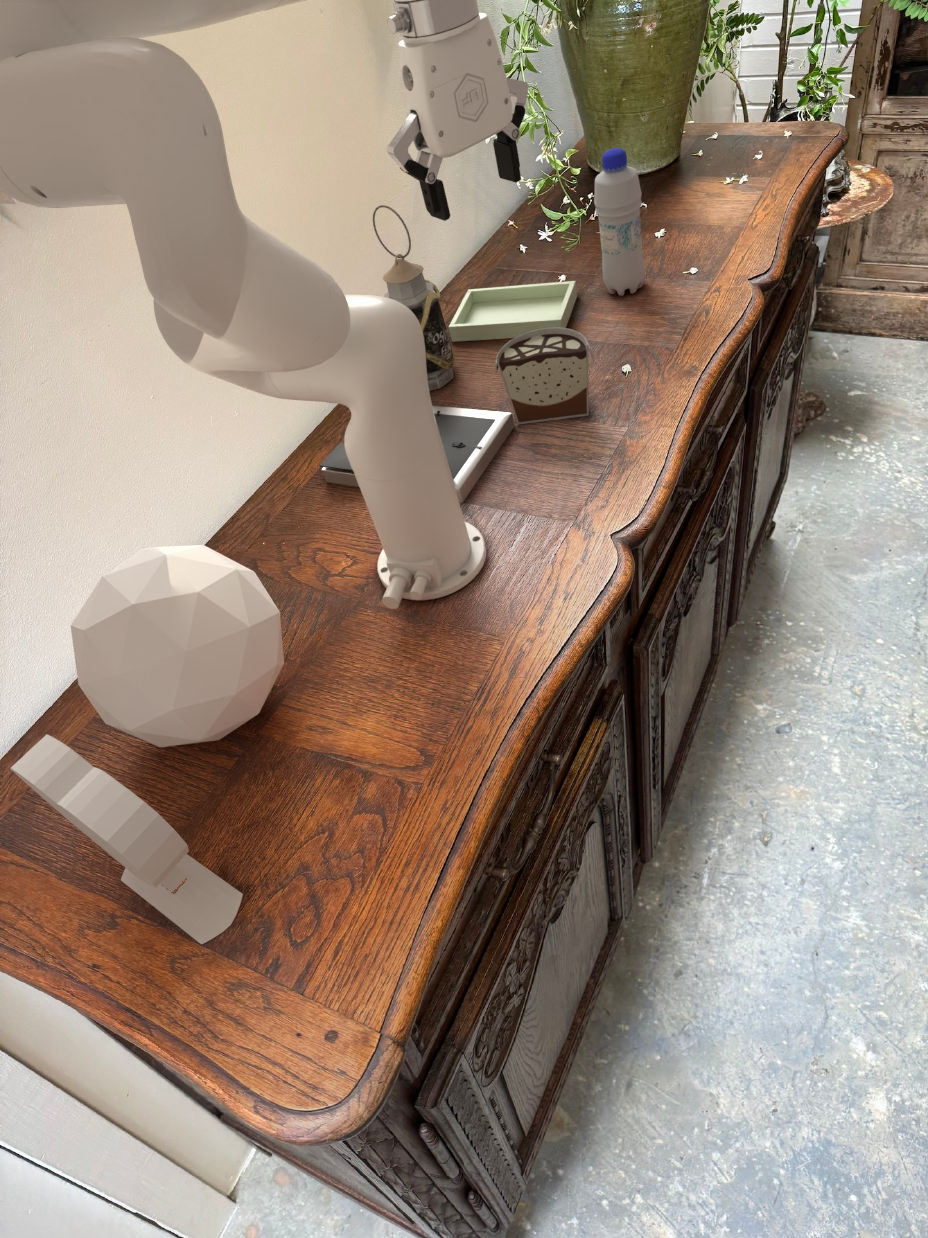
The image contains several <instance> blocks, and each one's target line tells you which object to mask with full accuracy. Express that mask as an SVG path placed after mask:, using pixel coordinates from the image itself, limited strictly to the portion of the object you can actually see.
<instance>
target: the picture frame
mask: <svg viewBox="0 0 928 1238" xmlns="http://www.w3.org/2000/svg"><path fill="white" fill-rule="evenodd" d="M432 407H433V411H434V415H435V419H436V423H437V426H438V430H439V434H440V437H441V440H442V443H443V447H444V451H445V454H446V458H447V461H448V465H449V468H450V472H451V475H452V479H453V482H454V486H455V489H456V493H457V496H458V500H459V503H462V504H463V503H464V501H466V499H467V497H468V495H470V493H471V492H472V490H473V488H474V487H475V485H476V484H477V483H478V481H479V480H480V478H481V477H482V475H483V474H484V472H485V471H486V469H487V468H488V466H489V465H490V464H491V462H492V460H493V459H494V458H495V456H496V455H497V453H498V451H499V450H500V449H501V447H502V446H503V444H504V443H505V441H506V440H507V438H508V437H509V436H510V434H511V433H512V431H513V430H514V429H515V426H516V425H515V420H514V416H513V415H514V414H513V413H512V412H506V411H496V410H494V411H493V410H483V409H474V408H473V409H472V408H463V407H462V408H461V407H454V406H453V407H450V406H440V405H432ZM319 467H320V468H321V470H320V471H321V473H322V475H323V478H324V480H325V482H326V483H329V484H335V485H336V484H337V485H343V486H349V487H356V488H360V487H359V485H358V482H357V479H356V477H355V474H354V472H353V470H352V468H351V465H350V462H349V460H348V457H347V454H346V450H345V445H344V442H339V443H338V444H337V445H336V446H335V447H334V449H332V450H331V452H330V453H329V454H328V455H327V456H326V457H325V458H324V459H323V460H322V462H321V463H320V464H319Z"/></svg>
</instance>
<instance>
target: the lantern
mask: <svg viewBox="0 0 928 1238" xmlns="http://www.w3.org/2000/svg"><path fill="white" fill-rule="evenodd" d="M381 208H385V209H387V210H390V211H391V212H392V213H394V214H395V215H396V217H397V218H398V219H399V221H400V222H401V223H402V225H403V227H404V229H405V232H406V235H407V238H408V239H407V240H408V249H407V252H406V253H405V254H404V255H403V254H402V253H397V254H395V253H393V252H391V250H389V248H388V247H386V245H385V244H384V243H383V241H382V239H381V238H380V235H379V232H378V230H377V226H376V220H375V219H376V213H377V211H378V210H379V209H381ZM372 226H373V230H374V232H375V235H376V237H377V240H378V241H379V242H380V245H381V246H382V248H383V249H384V250H385V251H386V252H387V253H388V254H390V256H393V257H394V263H393V264H392V266H391V268H390V269H388V271H386V272H385V273H384V274H383V276H382V280H383V281H384V283H386V287H387V292H386V293H385V294H384V296H383V297H386V298H390V299H393V300H396V301H398V302H400V303H402V304H403V305H405V306H406V307H407V308H409V309H410V310H411V311H412V312H413V313H414V315H415V316H416V317H417V319H418V321H419V323H420V325H421V328H422V332H423V336H424V343H425V353H426V368H427V379H428V386H429V392H430V391H434V390H438V389H441V388H442V387H444V386H445V385H446V384H448V383H449V382H450V381H451V380H453V379H454V367H453V366H454V362H455V352H454V351H453V347H452V346H453V345H452V343H451V340H450V339H451V338H450V336H449V333H448V332H449V331H448V328H447V325H446V322H445V318H444V315H443V311H442V309H441V304H440V299H441V292H440V290H439V289H438V287H437V285H436V284H434V283H433V282H432V281H430V280H429V279H425V276H424V273H423V272H424V267H423V265H420V264H417V263H413V262H410V261H408V260H406V259H405V258H406V257H408V255H409V254H410V251H411V248H412V241H411V240H412V239H411V236H410V231H409V229H408V226H407V225H406V223H405V221H404V220H403V218H402V217H401V216H400V214H399V213H398V212H397V211H396V210H395V209H393V208H392V207H390V206H389V205H384V204H381V205H378V206H377V207H375V209H374V210H373V213H372Z"/></svg>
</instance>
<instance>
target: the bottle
mask: <svg viewBox="0 0 928 1238" xmlns="http://www.w3.org/2000/svg"><path fill="white" fill-rule="evenodd" d="M601 164H602V165H601V167H602V171H601V172H599V173H598V174H597V175H596V176H595V178H594V197H593V198H594V199H593V203H594V207H595V210H594V211H595V214H596V216H597V218H598V226H599V227H598V228H599V237H600V246H601V263H602V265H601V268H602V280H603V282H604V285H605V288H606V290H607V292H608V293H609V294H610V295H614V294H616V293H617V294H618V296H619V297H622V296H625V291H626V290H629V293H630V294H634V293H636V292H637V290H638V289H642V287H643V286H644V283H645V279H646V268H645V259H644V252H643V240H642V239H643V237H642V223H641V207H642V204H643V201H642V194H643V193H642V189H641V185H640V178H639V173H638V170H637V169H636V168H634V167H633V166H628V157H627V152H626V151H625V150H624V148H621V147H614V148H610V149H608V150H606V151H605V152H604V153H603V155H602V156H601Z"/></svg>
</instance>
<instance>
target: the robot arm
mask: <svg viewBox="0 0 928 1238" xmlns="http://www.w3.org/2000/svg"><path fill="white" fill-rule="evenodd" d="M306 1H307V0H0V191H1V192H3V193H4V194H6V195H7V196H9V197H11V198H12V199H14V200H16V201H18V202H20V203H23V204H27V205H29V206H34V207H36V208H46V209H47V208H48V209H66V208H67V209H68V208H82V207H97V206H99V207H100V206H115V205H126V208H127V210H128V213H129V217H130V222H131V225H132V226H131V227H132V230H133V235H134V240H135V244H136V248H137V251H138V255H139V259H140V260H139V261H140V265H141V269H142V273H143V277H144V281H145V285H146V286H147V289H148V291H149V294H150V295H151V297H152V298H153V311H154V317H155V321H156V325H157V327H158V329H159V333H160V334H161V336H162V338H163V340H164V342H165V343H166V345H167V346H168V347H169V349H170V350H171V351H172V352H173V353H174V355H175V356H176V357H178V359H180V360H181V361H182V362H183V363H184V364H186V365H187V366H189V367H191V368H193V369H195V370H197V371H199V372H201V373H203V374H206V375H209V376H210V377H211V376H212V377H214V378H216V379H220V380H222V381H224V382H227V383H230V384H233V385H235V386H237V387H241V388H243V389H246V390H249V391H251V392H254V393H257V394H261V395H264V396H268V397H271V398H276V399H280V400H290V401H301V402H303V401H305V402H319V403H329V404H338V405H341V406H345V407H347V408H348V409H349V411H350V414H351V415H350V420H349V422H348V424H347V425H346V429H345V432H344V437H343V443H344V445H345V450H346V454H347V457H348V460H349V462H350V465H351V468H352V470H353V472H354V474H355V477H356V479H357V482H358V485H359V487H358V488H359V490H360V493H361V494H362V498H363V500H364V503H365V505H366V508H367V510H368V514H369V515H370V518H371V521H372V524H373V526H374V528H375V531H376V533H377V536H378V538H379V541H380V544H381V547H382V549H381V551H380V553H379V556H378V558H377V563H376V566H377V567H376V568H377V573H378V577H379V580H380V581H381V584H382V585H383V586H384V588H385V589H386V590H385V591H384V594H383V596H382V598H381V603H382V605H383V606H384V607H385V608H387V609H391V610H395V609H398V608H399V606H400V604H401V602H402V599H405V600H411V601H430V600H435V599H439V598H443V597H446V596H448V595H451V594H453V593H456V592H457V591H459V590H461V589H463V588H465V586H467V585H468V584H469V583H471V582H472V581H473V580H474V579H475V577H477V576H478V574H479V573H480V572H481V571H482V569H483V567H484V566H485V565H484V564H485V562H486V559H487V546H486V542H485V539H484V536H483V534H482V532H481V531H480V530H479V529H478V528H477V527H476V526H474V525H473V524H471V523H469V522H467V521H466V520H465V518H464V515H463V511H462V507H461V502H459V500H458V496H457V493H456V489H455V486H454V482H453V479H452V475H451V472H450V468H449V465H448V461H447V458H446V454H445V451H444V447H443V443H442V440H441V437H440V434H439V430H438V426H437V423H436V419H435V415H434V411H433V407H432V406H433V403H432V399H431V394H430V391H429V386H428V379H427V368H426V353H425V343H424V336H423V332H422V328H421V325H420V323H419V321H418V319H417V317H416V316H415V315H414V313H413V312H412V311H411V310H410V309H409V308H407V307H406V306H405V305H403V304H402V303H400V302H398V301H396V300H393V299H390V298H386V297H384V296H381V295H373V294H345V293H344V291H343V289H342V288H341V287H340V285H339V284H338V283H337V281H336V280H335V278H334V277H333V276H332V275H331V274H329V272H327V271H326V270H325V269H324V268H323V266H321V265H319V263H317V262H315V261H313V260H312V259H311V258H309V257H307V256H306V255H304V254H303V253H301V252H299V251H298V250H296V249H294V248H293V247H291V246H290V245H288V244H287V243H285V242H284V241H282V240H280V239H279V238H277V237H276V236H274V235H273V234H271V233H270V232H268V231H266V230H265V229H264V228H262V227H261V226H259V225H258V224H257V223H255V222H254V221H252V220H251V219H250V218H249V217H248V216H246V215H245V214H244V213H243V211H242V210H241V208H240V206H239V203H238V201H237V198H236V193H235V189H234V186H233V181H232V175H231V171H230V167H229V162H228V156H227V155H228V154H227V151H226V144H225V138H224V131H223V128H222V127H223V126H222V124H221V120H220V116H219V113H218V111H217V108H216V105H215V102H214V100H213V98H212V96H211V94H210V92H209V90H208V88H207V87H206V85H205V83H204V81H203V80H202V78H201V76H200V75H199V73H197V72H196V71H195V69H193V67H192V66H191V65H190V64H189V63H188V62H187V61H186V60H185V59H184V58H183V57H182V56H181V55H179V54H178V53H176V52H175V51H173V50H172V49H170V48H169V47H166V46H165V45H163V44H161V43H158V42H155V41H152V40H148V39H143V38H149V37H155V36H162V35H167V34H174V33H180V32H186V31H191V30H195V29H200V28H205V27H208V26H211V25H212V26H213V25H216V24H219V23H224V22H228V21H231V20H234V19H238V18H241V17H245V16H248V15H252V14H255V13H260V12H265V11H269V10H273V9H277V8H281V7H285V6H289V5H293V4H296V3H302V2H306ZM392 5H393V10H394V13H393V15H391V16H389V17H388V18H387V22H386V23H387V27H388V29H389V31H390V33H391V34H392V35H396V34H398V33H399V34H400V36H401V38H402V40H400V41H399V42H398V59H399V60H398V61H399V73H400V81H401V89H402V95H403V101H404V107H405V112H406V116H407V118H406V119H405V121H404V122H403V124H402V126H400V128H399V129H398V131H397V132H396V134H395V135H394V137H393V138H392V139H391V141H390V142H389V143H388V144H387V148H386V152H387V153H388V155H389V156H390V158H391V159H392V160H393V162H395V163H396V165H398V167H399V169H400V170H401V171H402V172H403V173H405V174H407V175H409V176H410V177H412V178H413V179H414V180H416V181H418V182H419V186H420V190H421V194H422V197H423V198H422V199H423V202H424V206H425V209H426V211H427V213H429V215H430V216H431V217H432V218H436V219H438V220H441V221H444V222H446V221H448V220H450V217H451V211H450V207H449V203H448V198H447V193H446V189H445V184H444V181H442V179H437V178H438V174H439V171H440V168H441V165H442V163H443V159H444V158H445V159H446V158H447V159H448V158H451V157H453V156H456V155H458V154H460V153H462V152H464V151H466V150H468V149H471V148H472V147H473V146H476V145H478V144H479V143H482V142H484V141H485V140H487V139H490V138H491V137H493V136H495V135H496V137H495V138H493V143H492V144H493V145H492V146H493V152H494V157H495V162H496V167H497V172H498V173H497V174H498V177H499V178H500V179H502V180H504V181H505V180H506V181H509V182H512V183H519V182H521V181H522V176H521V169H520V167H521V163H520V157H519V156H520V155H519V151H518V145H517V140H519V138H520V136H521V131H520V128H521V125H522V122H523V120H524V118H525V114H526V108H525V106H526V104H527V100H528V99H527V98H528V94H529V93H528V92H529V83H528V82H527V81H523V80H519V79H514V78H511V77H507V75H506V71H505V66H504V63H503V59H502V55H501V51H500V48H499V44H498V41H497V39H496V35H495V32H494V30H493V27H492V24H491V22H490V20H489V17H488V15H487V13H484V12H479V6H478V0H393V3H392ZM411 144H414V147H415V149H416V150H417V155H416V159H415V160H414V158H412V157H411V155H410V153H409V148H410V146H411Z"/></svg>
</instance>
